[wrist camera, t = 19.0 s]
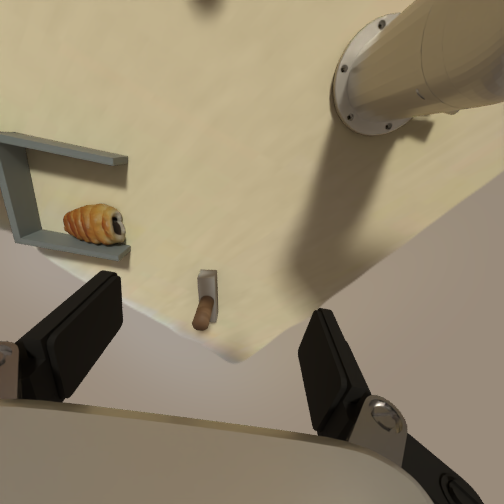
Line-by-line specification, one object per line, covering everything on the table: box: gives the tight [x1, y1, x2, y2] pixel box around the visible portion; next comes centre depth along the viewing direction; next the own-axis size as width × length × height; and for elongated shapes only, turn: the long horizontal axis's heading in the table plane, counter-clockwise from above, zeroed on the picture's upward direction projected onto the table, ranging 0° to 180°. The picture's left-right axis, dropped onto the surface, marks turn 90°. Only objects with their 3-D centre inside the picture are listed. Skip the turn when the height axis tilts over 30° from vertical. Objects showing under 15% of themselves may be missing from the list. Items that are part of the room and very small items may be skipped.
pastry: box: [63, 204, 125, 245], centre depth 37 cm, size 9×7×4 cm
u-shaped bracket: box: [0, 132, 131, 261], centre depth 35 cm, size 16×16×4 cm
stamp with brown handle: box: [192, 270, 218, 331], centre depth 41 cm, size 3×10×9 cm, turn 178°
